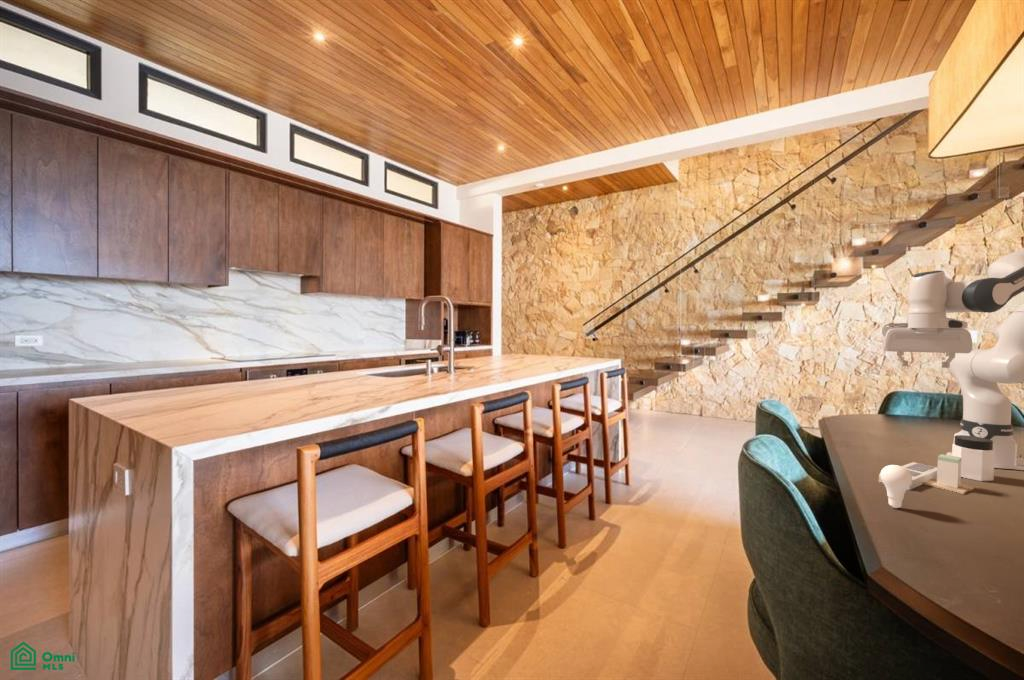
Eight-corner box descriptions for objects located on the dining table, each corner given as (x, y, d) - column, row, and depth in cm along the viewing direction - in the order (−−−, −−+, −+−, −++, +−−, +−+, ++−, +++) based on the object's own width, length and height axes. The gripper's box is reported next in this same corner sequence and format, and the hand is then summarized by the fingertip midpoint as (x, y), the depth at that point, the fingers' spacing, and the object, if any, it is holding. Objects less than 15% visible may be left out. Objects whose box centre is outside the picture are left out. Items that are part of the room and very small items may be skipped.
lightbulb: (880, 501, 114) (881, 460, 113) (911, 508, 109) (913, 465, 109) (877, 507, 109) (879, 465, 109) (910, 515, 105) (912, 471, 105)
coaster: (932, 478, 131) (932, 476, 131) (974, 488, 123) (974, 486, 123) (920, 483, 127) (920, 481, 127) (963, 494, 119) (963, 492, 119)
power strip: (919, 467, 142) (919, 458, 142) (948, 473, 136) (948, 465, 136) (878, 482, 128) (878, 472, 128) (909, 490, 122) (909, 480, 122)
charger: (940, 480, 128) (941, 454, 127) (960, 484, 124) (961, 457, 124) (936, 483, 125) (937, 456, 125) (957, 488, 122) (958, 460, 122)
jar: (994, 477, 132) (995, 439, 132) (992, 483, 127) (994, 443, 127) (952, 470, 139) (954, 433, 139) (949, 475, 134) (951, 437, 134)
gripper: (884, 323, 138) (882, 365, 138) (975, 322, 126) (973, 369, 127) (881, 323, 143) (879, 364, 143) (968, 322, 132) (966, 367, 132)
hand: (924, 366), depth 135 cm, fingers open, 8 cm apart
